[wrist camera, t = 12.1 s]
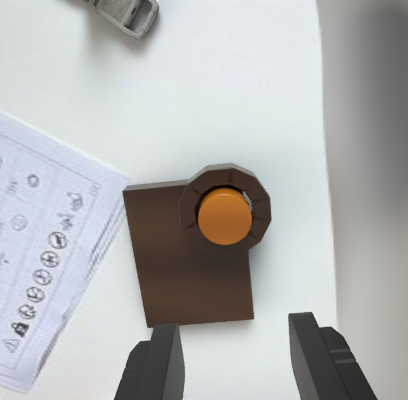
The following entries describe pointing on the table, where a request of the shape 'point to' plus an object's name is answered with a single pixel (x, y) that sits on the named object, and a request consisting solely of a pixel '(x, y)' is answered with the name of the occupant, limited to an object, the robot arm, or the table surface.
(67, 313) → the table surface
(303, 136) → the table surface
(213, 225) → the light button
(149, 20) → the strap clip
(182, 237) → the switch block
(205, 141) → the table surface
